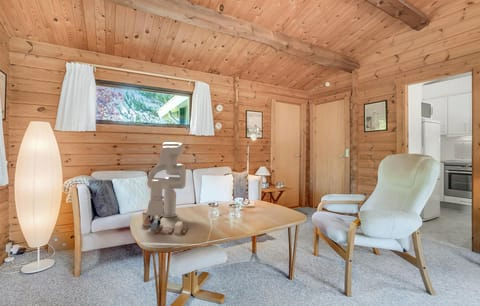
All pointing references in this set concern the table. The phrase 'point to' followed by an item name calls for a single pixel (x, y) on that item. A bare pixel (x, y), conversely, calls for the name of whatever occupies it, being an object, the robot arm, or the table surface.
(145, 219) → the teacup with lid
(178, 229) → the ivory stub
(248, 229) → the table surface
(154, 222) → the blue stub
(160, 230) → the slot rack
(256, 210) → the table surface
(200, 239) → the table surface
